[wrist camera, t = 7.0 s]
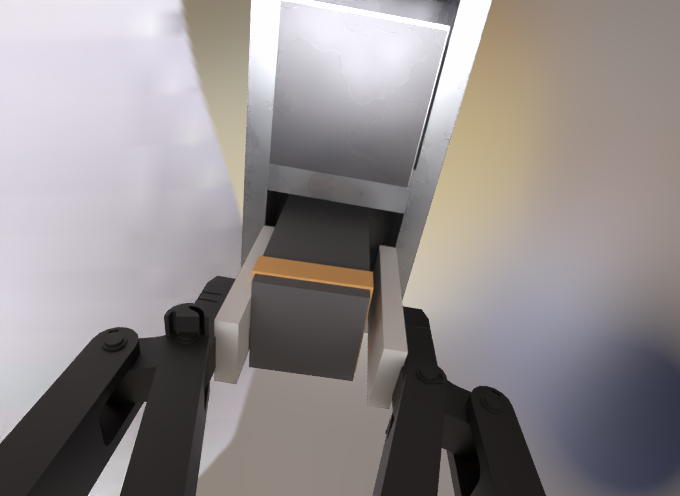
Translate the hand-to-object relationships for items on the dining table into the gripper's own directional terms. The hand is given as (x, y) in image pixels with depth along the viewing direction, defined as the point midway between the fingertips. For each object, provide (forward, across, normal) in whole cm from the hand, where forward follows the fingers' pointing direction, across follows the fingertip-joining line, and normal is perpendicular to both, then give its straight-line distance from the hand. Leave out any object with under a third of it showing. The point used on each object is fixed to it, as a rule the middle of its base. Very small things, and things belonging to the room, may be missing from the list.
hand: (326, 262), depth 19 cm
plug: (+4, 0, 0) cm, 4 cm away
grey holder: (+5, 0, +4) cm, 7 cm away
